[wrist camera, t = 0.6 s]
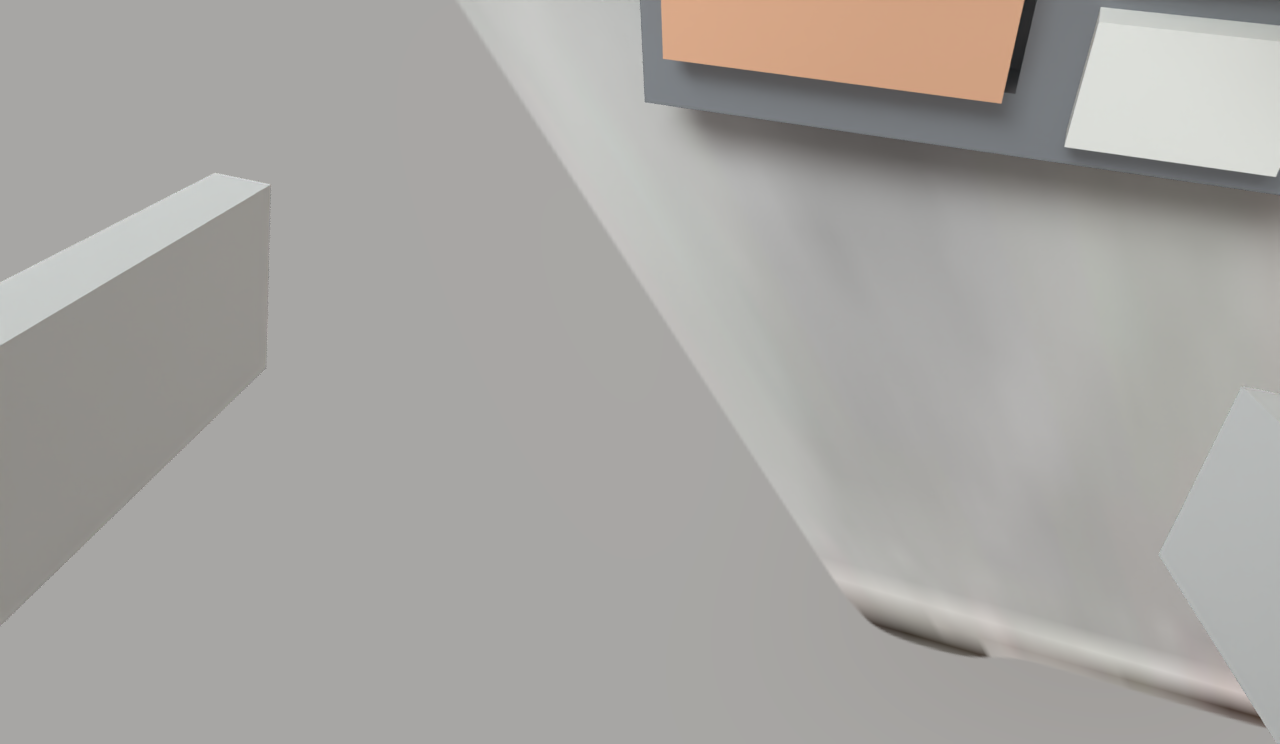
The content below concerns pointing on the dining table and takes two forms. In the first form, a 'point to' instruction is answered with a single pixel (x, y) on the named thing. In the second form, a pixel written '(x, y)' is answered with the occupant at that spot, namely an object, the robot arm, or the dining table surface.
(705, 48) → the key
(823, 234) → the dining table surface
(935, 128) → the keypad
